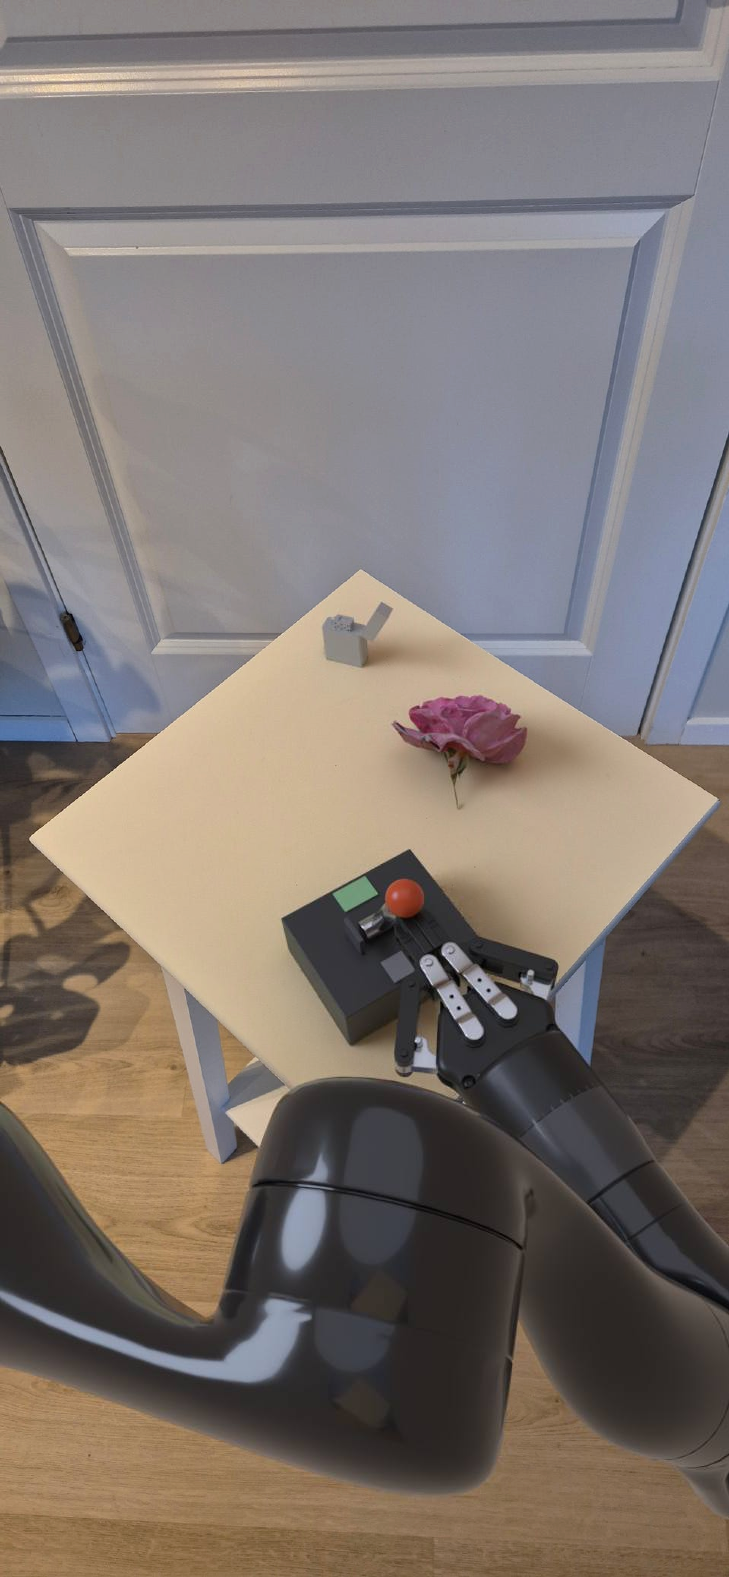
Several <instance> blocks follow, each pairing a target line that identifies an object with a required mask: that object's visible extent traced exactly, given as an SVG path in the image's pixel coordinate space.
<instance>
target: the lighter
mask: <svg viewBox="0 0 729 1577" xmlns="http://www.w3.org/2000/svg"><path fill="white" fill-rule="evenodd" d="M393 610H394V608H393V607H391V606H390V605H388V604H387V603H385V602H383V601H380V603H379V604H378V606H377V608H376V609H375V611H374V612H373V614H372V616H371V617H370V619H369V620H368V622H367V623H366V624H363V623H358V622H355V618H354V617H353V616H348V615H343V614H339V613H338V614H336V615H335V616H333V617H332V616H327V617H326V618H325V620H324V622H323V624H322V626H321V631H322V632H321V633H322V640H323V649H324V657H325V659H326V660H329V661H333V662H337V663H342V664H345V665H349V666H352V667H357V668H363V667H364V666H365V664H366V663H367V660H368V658H369V651H368V650H369V649H368V642H370V643H373V642H374V641H375V639H376V638H377V637H378V635H379V633H380V632H381V630H382V629H383V627H384V625H385V624H386V623H387V621H388V619H389V618H390V615H391V614H392V612H393Z"/></svg>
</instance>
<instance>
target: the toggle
mask: <svg viewBox="0 0 729 1577" xmlns="http://www.w3.org/2000/svg"><path fill="white" fill-rule="evenodd" d="M385 901H386V903H385V904H384V905H383V906H382V907H381V908H380V909H379V910H378V911H377V912H376V913H374V914H372V915H370V916H369V917H367V918H365V919H363V920H361V921H360V922H358V923H357V925H358V929H359V931H360V933H361V935H362V936H363V938H364V939H365V940H366V941H369V940H371V939H373V938H374V937H376V936H378V935H380V934H381V933H383V932H385V931H387V930H388V929H390V928H392V927H394V926H395V925H396V916H398V917H401V918H408V917H412V916H414V915H416V914H417V913H418V912H419V911H420V910H421V908H422V906H423V903H424V894H423V891H422V889H421V887H420V886H419V885H418V884H417V883H416V882H414V881H412V880H410V879H400V880H397V881H395V882H393V883H392V884H391V885H390V886H389V888H388V889H387V892H386V895H385Z"/></svg>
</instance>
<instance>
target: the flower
mask: <svg viewBox="0 0 729 1577" xmlns="http://www.w3.org/2000/svg"><path fill="white" fill-rule="evenodd" d="M408 716H409V719H410V721H411V722H412V723H413V725H414V726H415V727H416V728H417V729H418V730H417V729H414V728H409V727H405V726H403V725H402V724H400V723H399V722H398V721H397V720H396V719H395V720H393V722H392V723H390V726H392V727H393V728H394V730H396V732H397V733H398V734H399V736H400V737H401V739H402V741H403V742H405V743H406V744H409V745H411V746H413V747H415V748H419V749H424V750H429V751H432V752H435V753H436V754H440V755H442V756H443V757H444V758H445V760H446V762H447V768H448V769H449V771H450V772H449V773H450V776H449V777H450V779H451V782H452V785H453V790H454V795H455V796H454V797H455V803H456V804H455V805H456V809H457V810H458V809H459V803H458V802H459V801H458V796H457V792H456V782H457V778H459V779H461V774H462V773H463V772H464V770H465V769H466V768H467V766H468V764H469V762H470V758H474V759H479V760H480V761H481V762H488V763H490V764H506V763H508V762H511V761H512V760H514V759H515V758H516V757H517V756H519V755H520V754H521V752H522V751H523V750H524V748H525V745H526V743H527V736H528V727H527V726H522V727H518V728H516V725H517V723H518V722H519V720H520V719H521V718H522V717H521V715H519V714H515V713H512V709H511V708H510V707H508V706H507V704H505V703H503V702H497V701H495V700H494V699H493V698H488V697H486V696H484V695H481V694H479V695H472V696H471V697H469V696H467V695H466V696H465V695H458V696H456V697H454V698H450V697H449V698H448V697H442V696H439V697H437V698H435V699H433V700H426V701H423V703H422V705H420V704H418V705H415V706H413V707H412V706H411V708H409V709H408Z"/></svg>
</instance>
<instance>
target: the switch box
mask: <svg viewBox="0 0 729 1577" xmlns="http://www.w3.org/2000/svg"><path fill="white" fill-rule="evenodd" d="M400 879H410V880H412V881H414V882H416V883H417V884H418V885H419V886H420V887H421V889H422V891H423V894H424V903H423V906H422V908H421V910H420V911H422V910H424V909H425V910H426V911H428V912H430V913H431V914H432V916H433V917H434V918H435V920H436V921H437V922H438V924H439V925H440V926H441V928H442V929H443V930H444V932H445V933H446V934H447V936H448V937H449V938H450V939H451V940H452V941H453V942H455V943H466V942H470V941H471V939H473V938H474V937H480V936H479V934H478V933H476V931H475V930H474V929H473V927H472V926H471V925H470V924H469V922H468V921H467V920H466V918H465V917H464V916H463V914H462V913H461V912H460V911H459V909H458V908H457V907H456V906H455V904H454V903H453V902H452V900H451V899H450V898H449V897H448V896H447V894H446V893H445V891H443V889H442V888H441V887H440V885H439V884H438V883H437V881H436V880H435V878H433V876H432V875H431V873H429V871H428V870H427V869H426V867H425V866H424V865H423V863H422V862H421V861H420V860H419V858H418V857H417V855H415V853H414V852H413V851H412V850H411V848H409V849H407V850H404V851H403V852H401V853H399V854H397V855H395V856H393V857H391V858H390V859H388V860H386V861H384V862H383V863H380V864H378V865H377V866H375V867H373V868H371V869H369V870H368V871H366V872H364V873H362V874H360V875H359V876H357V877H355V878H353V879H351V880H349V881H348V882H345V883H344V884H342V885H340V886H338V887H336V888H334V889H333V890H331V891H329V892H327V893H325V894H323V895H321V896H320V897H318V898H316V899H314V900H312V901H311V902H309V903H307V904H305V905H303V906H301V907H299V908H298V909H296V910H294V911H292V912H290V913H288V914H287V915H285V916H283V917H281V920H280V921H281V923H282V928H283V933H284V937H285V941H286V945H287V950H288V951H289V953H290V954H291V956H292V958H293V959H294V961H295V962H296V964H297V965H298V967H299V968H300V970H301V972H302V973H303V975H304V976H305V978H306V979H307V981H308V982H309V984H310V986H311V988H312V989H313V990H314V992H315V993H316V995H317V997H318V998H319V1000H320V1001H321V1003H322V1005H323V1006H324V1007H325V1009H326V1011H327V1012H328V1014H329V1015H330V1017H331V1019H332V1020H333V1022H334V1023H335V1025H336V1026H337V1028H338V1030H339V1031H340V1033H341V1034H342V1037H344V1039H345V1040H346V1043H347V1045H349V1046H352V1045H354V1044H356V1043H358V1042H359V1041H361V1040H363V1039H364V1038H366V1037H368V1036H370V1035H371V1034H373V1033H374V1032H376V1031H378V1030H380V1029H381V1028H383V1027H385V1026H386V1025H388V1024H390V1023H391V1022H393V1021H394V1020H396V1019H398V1013H399V1005H400V996H401V987H402V980H403V979H404V977H406V976H408V975H411V974H412V973H413V971H414V970H415V969H414V968H413V966H412V965H411V963H410V962H409V961H408V959H407V958H406V956H405V955H404V953H403V952H402V951H401V949H400V948H399V946H398V945H397V944H396V940H395V933H394V927H392V928H390V929H388V930H387V931H385V932H383V933H381V934H380V935H378V936H376V937H374V938H373V939H371V940H369V941H366V940H365V939H364V938H363V936H362V935H361V933H360V931H359V929H358V925H357V923H358V922H360V921H361V920H363V919H365V918H367V917H369V916H370V915H372V914H374V913H376V912H377V911H378V910H379V909H380V908H381V907H382V906H383V905H384V904H385V903H386V901H385V895H386V892H387V889H388V888H389V886H390V885H391V884H392V883H393V882H395V881H397V880H400ZM420 911H419V912H420ZM428 1000H431V999H430V997H429V996H428V994H427V993H426V994H425V996H424V997H423V998H422V999H421V1003H420V1005H422V1004H423V1003H425V1002H427V1001H428Z"/></svg>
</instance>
